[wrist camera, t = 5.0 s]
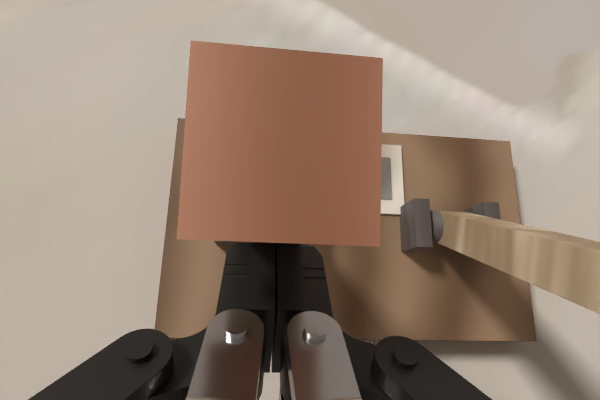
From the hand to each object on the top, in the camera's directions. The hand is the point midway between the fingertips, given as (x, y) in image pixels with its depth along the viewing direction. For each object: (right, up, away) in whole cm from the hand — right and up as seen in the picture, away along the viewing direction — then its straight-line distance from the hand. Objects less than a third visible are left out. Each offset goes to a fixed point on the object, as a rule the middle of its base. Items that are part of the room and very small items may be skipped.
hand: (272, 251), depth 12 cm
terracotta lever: (-1, +1, +11) cm, 11 cm away
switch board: (+4, -1, +15) cm, 15 cm away
